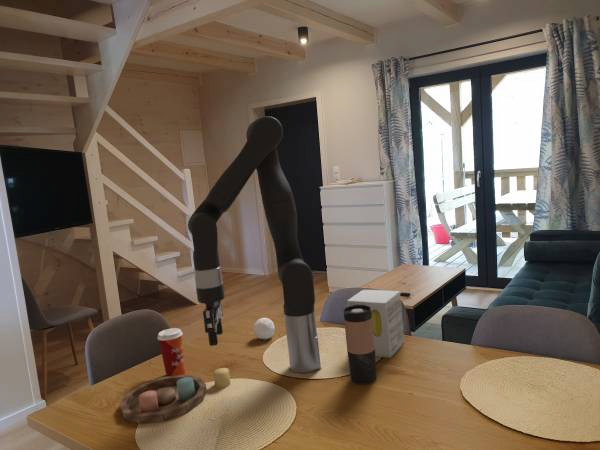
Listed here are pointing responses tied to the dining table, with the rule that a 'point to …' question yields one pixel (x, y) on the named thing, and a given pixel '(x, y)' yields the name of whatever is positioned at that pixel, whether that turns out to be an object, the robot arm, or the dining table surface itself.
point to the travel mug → (360, 344)
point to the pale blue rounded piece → (185, 389)
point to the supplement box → (383, 319)
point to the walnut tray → (163, 411)
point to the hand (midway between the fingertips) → (216, 339)
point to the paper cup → (172, 351)
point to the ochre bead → (221, 377)
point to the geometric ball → (264, 328)
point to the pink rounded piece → (148, 402)
